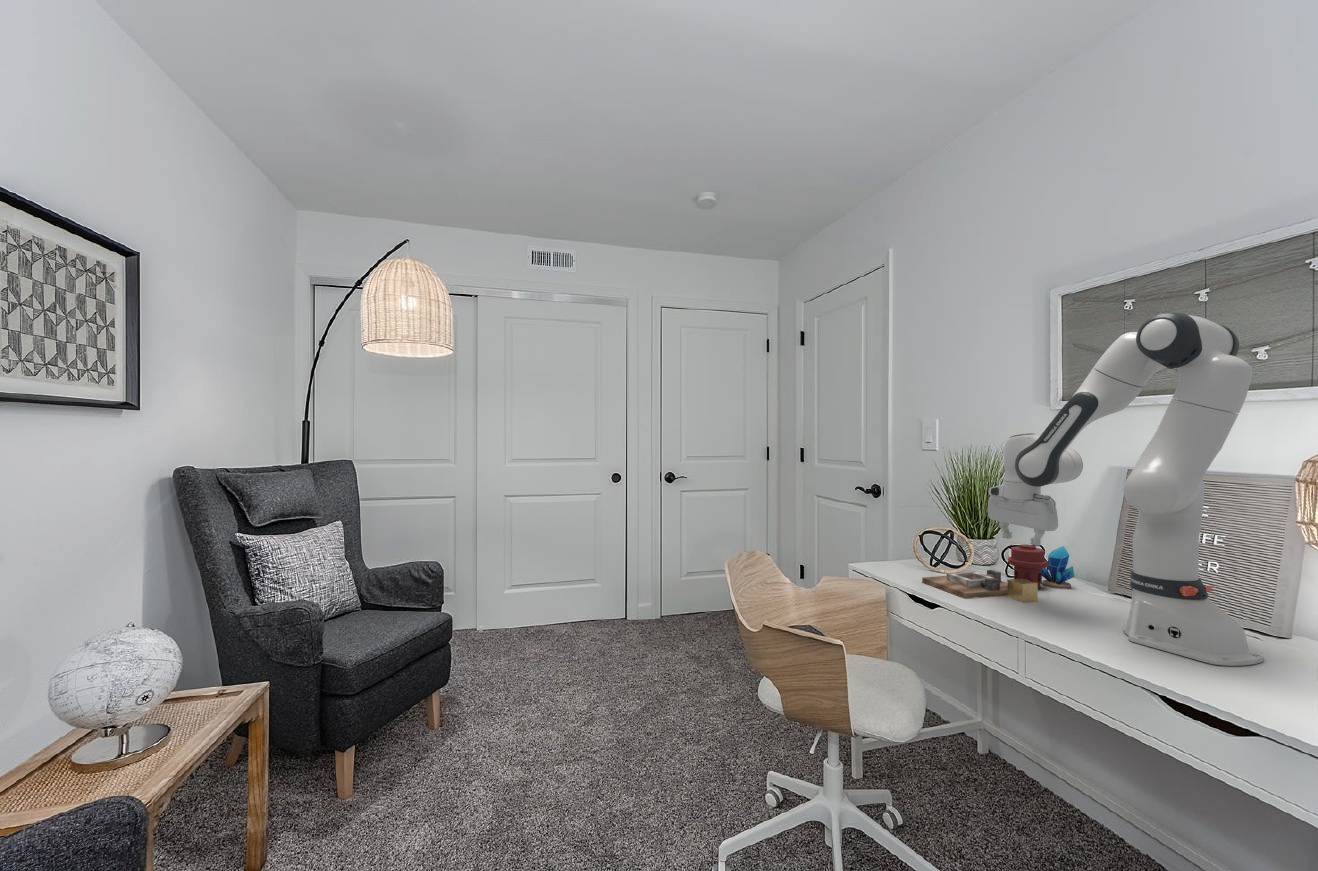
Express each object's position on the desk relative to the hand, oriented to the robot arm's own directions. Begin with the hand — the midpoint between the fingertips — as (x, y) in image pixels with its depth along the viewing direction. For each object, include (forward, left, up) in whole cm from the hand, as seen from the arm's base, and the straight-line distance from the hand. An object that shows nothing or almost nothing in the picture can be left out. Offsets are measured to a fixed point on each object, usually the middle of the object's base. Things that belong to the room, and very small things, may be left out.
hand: (1020, 541), depth 159 cm
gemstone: (+9, -21, -16) cm, 28 cm away
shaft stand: (+13, +5, -16) cm, 21 cm away
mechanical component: (+10, -12, -16) cm, 22 cm away
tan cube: (0, 0, -16) cm, 16 cm away
